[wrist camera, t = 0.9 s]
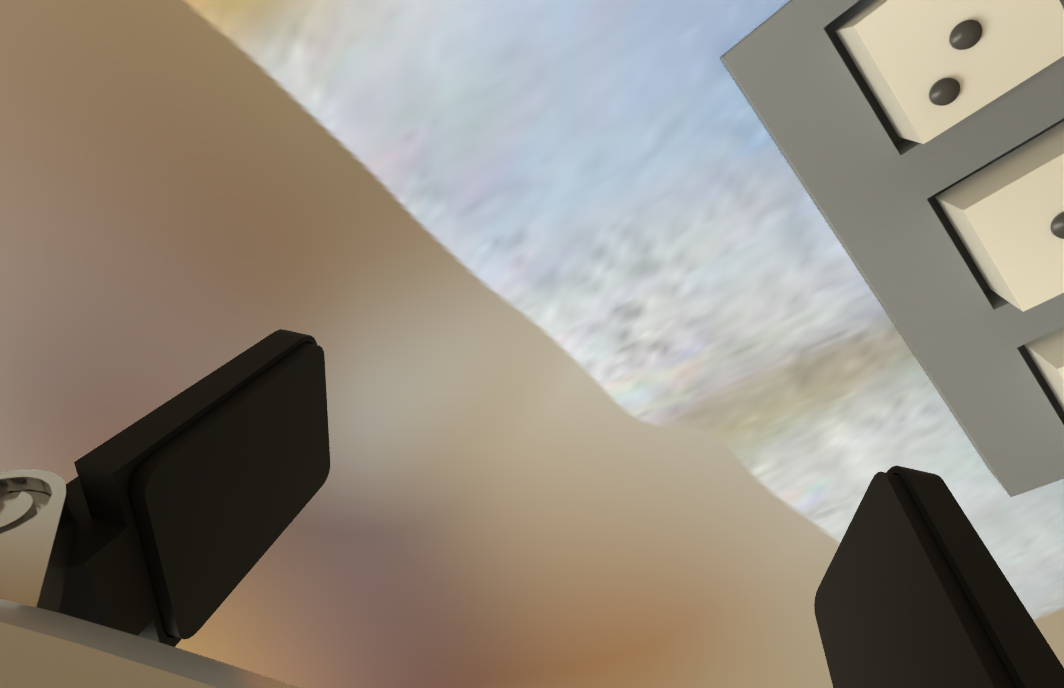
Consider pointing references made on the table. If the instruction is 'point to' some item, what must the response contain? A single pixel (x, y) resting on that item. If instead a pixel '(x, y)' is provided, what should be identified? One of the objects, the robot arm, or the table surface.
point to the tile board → (916, 224)
